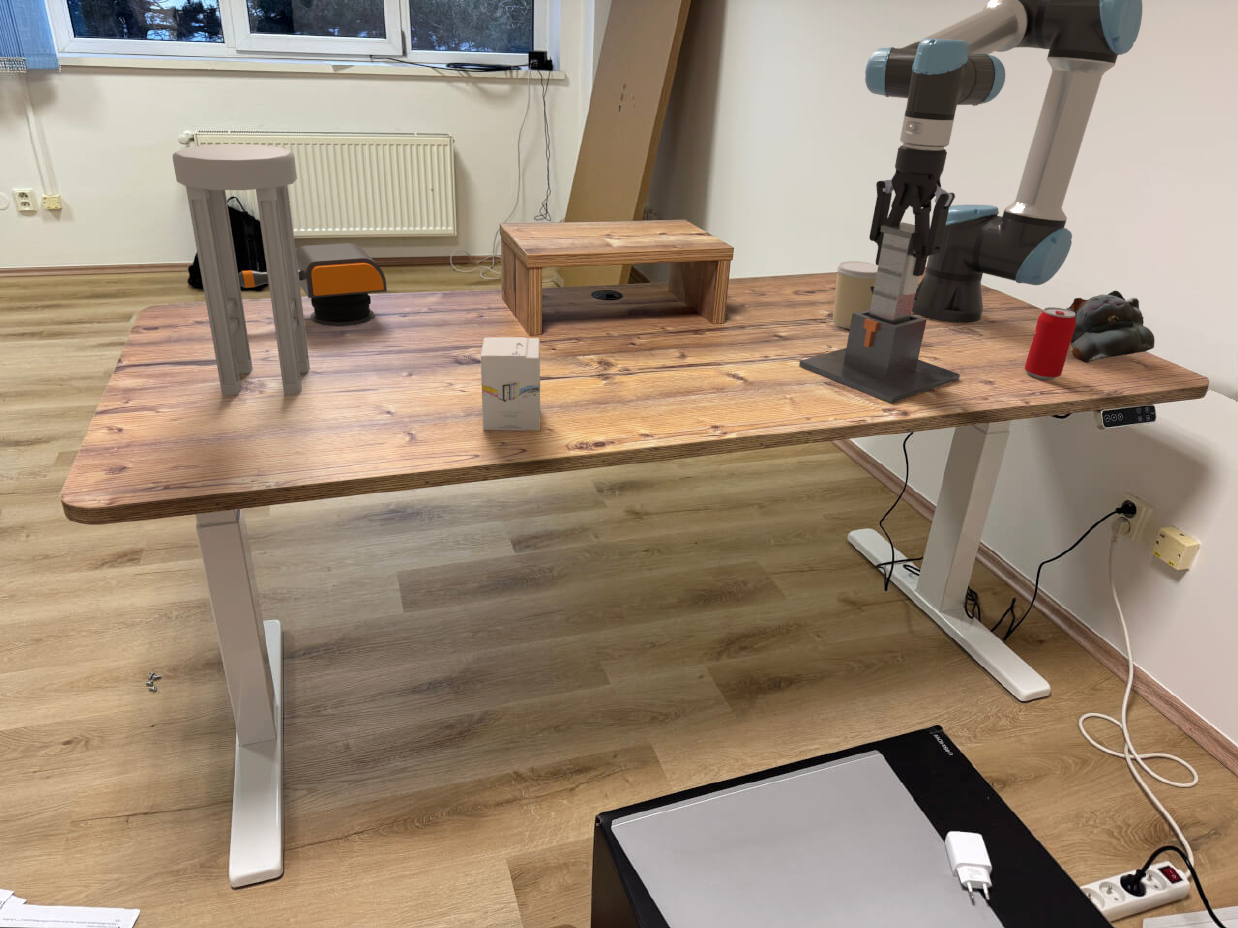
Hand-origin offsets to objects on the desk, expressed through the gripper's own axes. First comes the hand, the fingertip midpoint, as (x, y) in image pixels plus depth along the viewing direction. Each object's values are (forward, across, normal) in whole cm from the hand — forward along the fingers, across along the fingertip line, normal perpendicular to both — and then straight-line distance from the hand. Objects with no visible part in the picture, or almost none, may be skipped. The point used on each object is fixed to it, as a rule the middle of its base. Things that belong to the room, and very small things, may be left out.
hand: (895, 289), depth 149 cm
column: (+11, 0, 0) cm, 11 cm away
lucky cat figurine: (+16, +18, +46) cm, 52 cm away
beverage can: (+16, +17, +26) cm, 35 cm away
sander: (+15, -77, -73) cm, 107 cm away
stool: (+15, -51, -91) cm, 106 cm away
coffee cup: (+16, -21, +19) cm, 32 cm away
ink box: (+15, -18, -66) cm, 70 cm away
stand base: (+15, 0, 0) cm, 15 cm away
